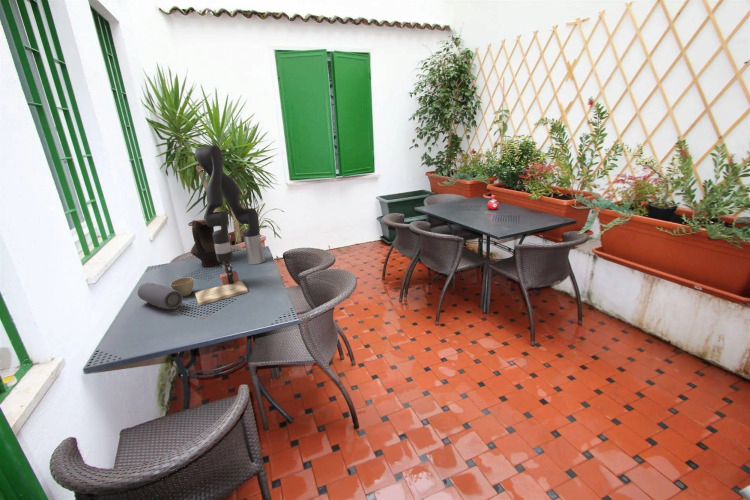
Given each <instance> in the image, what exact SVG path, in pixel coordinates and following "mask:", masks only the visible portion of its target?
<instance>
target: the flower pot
mask: <svg viewBox="0 0 750 500" xmlns="http://www.w3.org/2000/svg"><path fill="white" fill-rule="evenodd" d="M194 282H195V281H194V278H193V277H191V276H189V277H187V276H185V277H181V278H177V279H174V280H173V281H171V282H170V286H171V287H170V288H172V289H174V290H177V291H178V292H180V293H181V294H182V297H187V296H189V295H191V294H192V292H193V289H194Z"/></svg>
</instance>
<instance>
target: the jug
mask: <svg viewBox="0 0 750 500" xmlns="http://www.w3.org/2000/svg"><path fill="white" fill-rule="evenodd" d="M187 225H188V226H189V227H191V231H192V232H191V233H192V237H193V242H194V244H193V246H192V247H191V248H190V249H191V250H190V254H192V256H195V257H196V258H197V259H199V260H200V262H201V263H200V264H201V266H202V267H214V266H217V265H220V264H222V262H219V261H218V260H217V256H216V252H215V245H214V240H213V232H215V229H214V228H215V227H209V226H208V225H207V224H206V222H205V219H198V220H196V219H193V220H191V221H190V222H188V224H187Z"/></svg>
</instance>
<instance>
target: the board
mask: <svg viewBox="0 0 750 500" xmlns="http://www.w3.org/2000/svg"><path fill="white" fill-rule="evenodd" d="M248 292H249V290H248V288H247V286H246V285H245V284H244V282H243V281H242V280H239V281H237V282H234V283H233V284H226V285H222V284H221V285H219V286H214V287H211V288H206V289H203V290H198V291H196V292H194V295H195V299H196V301H197V304H198V306H204V305H207V304H210V303H211V304H212V303H216V302H217V301H218V302H219V301H221V300H225V299H228V298H232V297H235V296H239V295H243V294H247V293H248Z"/></svg>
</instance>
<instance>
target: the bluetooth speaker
mask: <svg viewBox="0 0 750 500" xmlns="http://www.w3.org/2000/svg"><path fill="white" fill-rule="evenodd" d="M137 296H138V297H139V299H140V300H143V301H145V302H146V303H149V304H151V305H152V306H156V307H158V308H160V309H164V310H167V309H168V310H174V309H177V308H178V307H180V306H181V304H182V302H183V300H184V299H183V298H184V296H182V294H181V293H180V292H178V291H177V290H174V289H173V288H172V287H169V286H165V285H162V284H159V283H153V282H145V283H143V284H141V285H140V286H139V288H138V290H137Z"/></svg>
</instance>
